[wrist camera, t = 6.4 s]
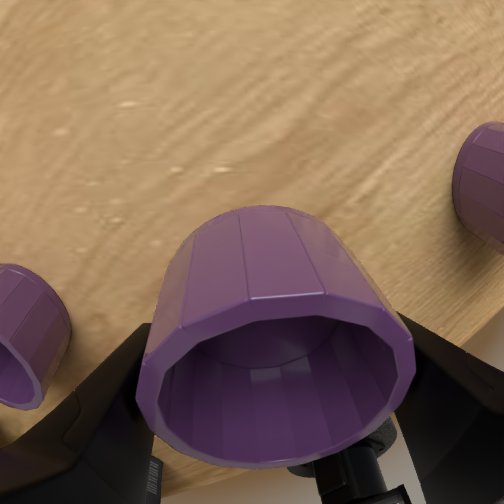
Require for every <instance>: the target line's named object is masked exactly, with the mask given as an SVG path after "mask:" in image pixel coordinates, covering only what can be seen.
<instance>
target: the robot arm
mask: <svg viewBox="0 0 504 504" xmlns="http://www.w3.org/2000/svg"><path fill="white" fill-rule="evenodd" d="M396 313H397V314H398V315H399V317H400V318H401V320H402V321H403V323H404V324H405V326H406V327H407V329H408V330H409V332H410V333H411V335H412V337H413V343H414V352H415V361H416V373H415V376H414V378H413V380H412V382H411V385H410V387H409V389H408V391H407V394H406V396H405V398H404V400H403V402H402V403H401V405H400V406H399V407H398V408H397V409H396V410H395V411H394V412H395V415H396V418H397V421H398V423H399V426H400V429H401V431H402V434H403V437H404V439H405V442H406V445H407V447H408V450H409V453H410V456H411V458H412V461H413V464H414V467H415V470H416V473H417V476H418V479H419V481H420V483H421V488H422V491H423V494H424V497H425V501H426V504H504V372H503V371H501V370H499V369H497V368H495V367H493V366H491V365H489V364H487V363H485V362H483V361H482V360H480V359H478V358H476V357H475V356H473V355H471V354H470V353H466V351H464V350H463V349H461V348H459V347H457V346H456V345H454V344H452V343H451V342H449V341H447V340H445V339H444V338H442V337H440V336H438V335H437V334H435V333H433V332H432V331H430V330H428V329H426V328H425V327H423V326H421V325H419V324H418V323H416V322H414V321H412V320H411V319H409V318H407V317H405V316H404V315H402V314H400V313H398V312H397V311H396ZM151 325H152V323H143V324H142V325H140V326H139V327H138V328H137V329H136V330H135V331H134V332H133V333H132V334H131V335H130V336H129V337H128V338H127V339H126V340H125V341H124V342H123V343H122V344H121V345H120V346H119V347H118V348H117V349H116V350H115V351H113V352H112V353H111V354H110V355H109V356H108V357H107V358H106V359H105V360H104V361H103V362H102V363H101V364H100V365H99V366H98V367H97V368H96V369H95V370H94V371H93V372H92V373H91V374H90V375H89V376H88V377H87V378H86V379H85V380H84V381H83V382H82V383H81V384H80V385H79V386H78V387H77V388H76V389H75V391H73V392H72V393H71V394H69V395H68V396H67V397H66V398H65V399H64V400H63V401H62V402H61V403H60V404H59V405H58V406H57V407H56V408H55V409H54V410H53V411H51V412H50V413H49V414H48V415H47V416H46V417H44V418H43V419H42V420H41V421H40V422H38V423H37V424H36V425H35V426H33V427H32V428H31V429H30V430H28V431H27V432H26V433H25V434H24V435H22V436H21V437H20V438H19V439H17V440H16V441H15V442H13V443H12V444H10V445H8V446H6V447H4V448H0V504H145V503H146V494H147V485H148V477H149V469H150V461H151V454H152V447H153V440H154V433H153V432H152V431H151V430H150V429H149V427H148V425H147V423H146V421H145V419H144V417H143V415H142V413H141V411H140V409H139V407H138V404H137V402H136V399H135V395H136V390H137V384H138V379H139V374H140V369H141V365H142V360H143V356H144V352H145V348H146V344H147V340H148V336H149V333H150V329H151ZM385 448H386V447H385V444H383V443H381V442H378V441H375V440H373V439H370V438H368V437H364V438H362V439H361V440H359V441H357V442H356V443H354V444H352V445H350V446H349V447H347V448H345V449H344V450H342V451H339V452H337V453H334V454H332V455H329V456H326V457H323V458H320V459H317V460H314V461H310V462H307V463H304V464H299V466H300V467H301V468H305V469H309V470H313V471H314V474H315V479H316V483H317V488H318V493H319V495H320V497H321V501H322V504H397V503H399V504H412V503H411V501H410V498H409V496H408V494H407V491H406V489H405V487H404V484H402V485H400V486H398V487H397V488H395V489H392V490H390V491H387V488H386V485H385V482H384V479H383V476H382V473H381V470H380V467H379V464H378V462H377V459H376V456H375V455H376V454H378V453H379V452H381V451H383V450H384V449H385Z"/></svg>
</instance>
